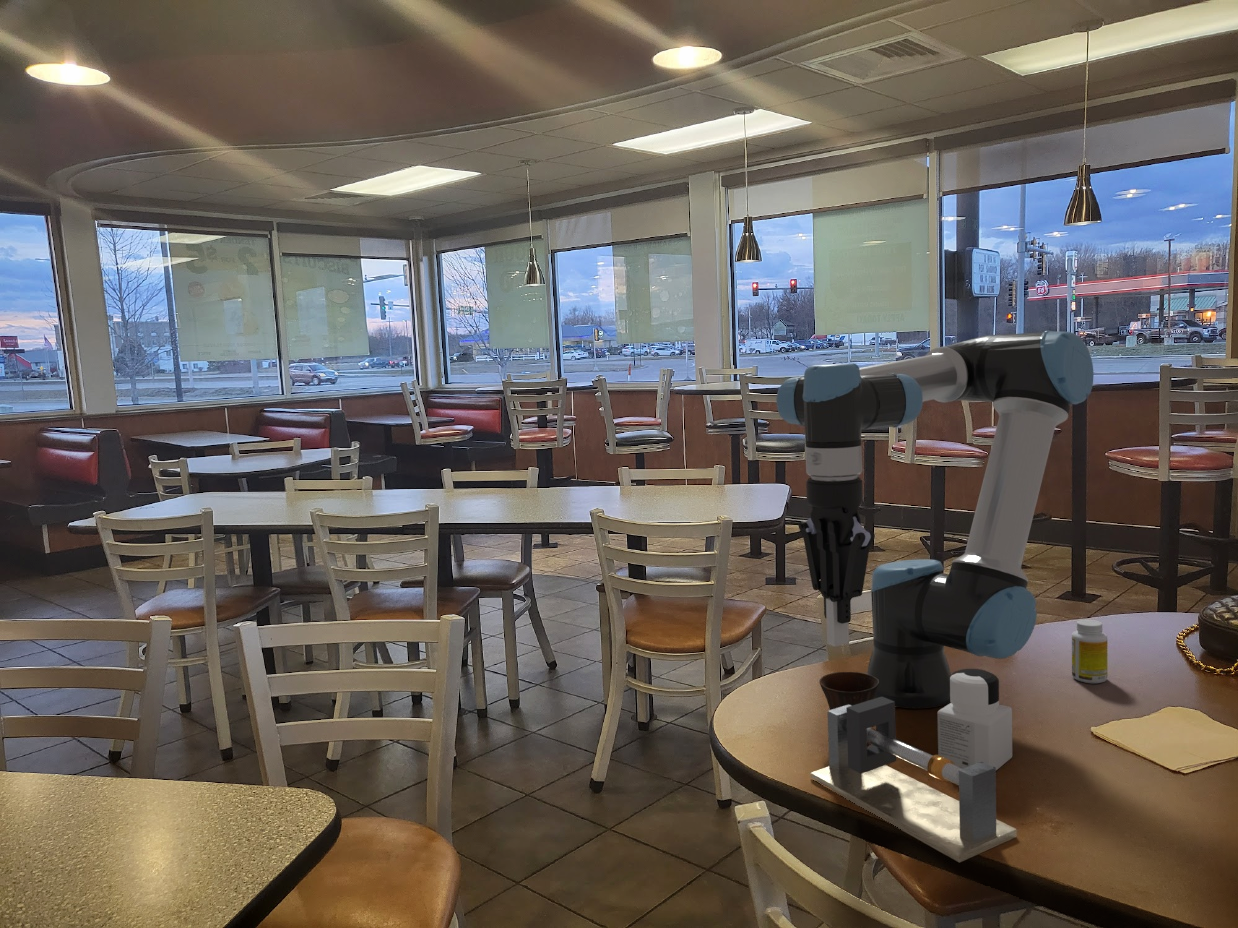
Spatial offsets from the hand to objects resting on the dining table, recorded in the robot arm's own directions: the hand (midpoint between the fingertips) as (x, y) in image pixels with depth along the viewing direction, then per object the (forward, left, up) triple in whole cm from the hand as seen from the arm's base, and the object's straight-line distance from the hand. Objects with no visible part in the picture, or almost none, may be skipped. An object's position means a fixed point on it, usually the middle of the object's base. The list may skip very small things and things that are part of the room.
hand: (838, 643), depth 128 cm
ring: (+6, 0, -16) cm, 17 cm away
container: (+8, +18, -19) cm, 28 cm away
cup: (-8, +9, -19) cm, 23 cm away
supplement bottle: (-2, +59, -19) cm, 62 cm away
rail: (+12, 0, -19) cm, 23 cm away
